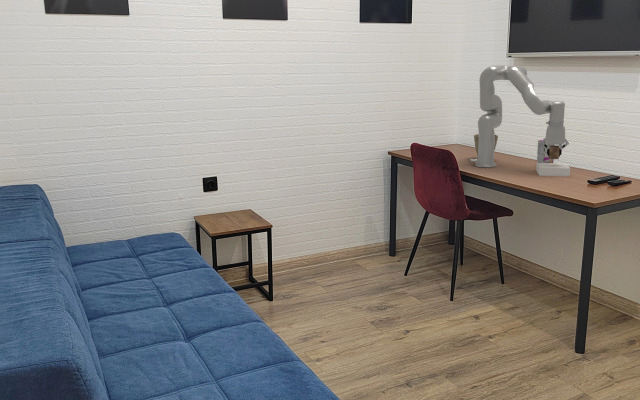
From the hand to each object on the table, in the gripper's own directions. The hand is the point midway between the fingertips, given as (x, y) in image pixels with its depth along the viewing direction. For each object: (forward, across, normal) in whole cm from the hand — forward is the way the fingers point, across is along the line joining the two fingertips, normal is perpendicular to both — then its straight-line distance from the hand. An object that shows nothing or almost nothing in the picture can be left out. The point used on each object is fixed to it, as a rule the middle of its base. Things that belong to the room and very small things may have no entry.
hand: (553, 155), depth 329 cm
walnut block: (+1, 0, 0) cm, 1 cm away
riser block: (+11, 0, 0) cm, 11 cm away
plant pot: (+10, -40, +35) cm, 54 cm away
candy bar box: (+10, -4, +20) cm, 23 cm away
